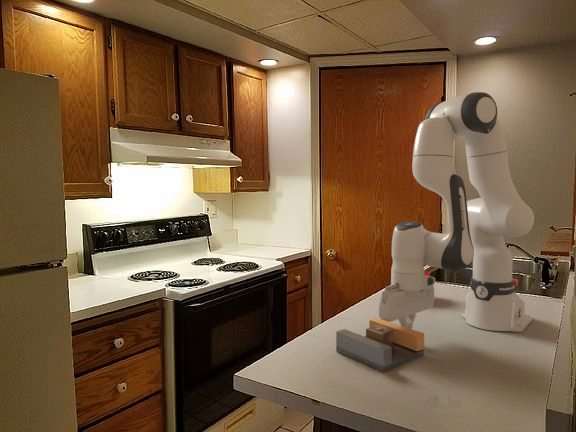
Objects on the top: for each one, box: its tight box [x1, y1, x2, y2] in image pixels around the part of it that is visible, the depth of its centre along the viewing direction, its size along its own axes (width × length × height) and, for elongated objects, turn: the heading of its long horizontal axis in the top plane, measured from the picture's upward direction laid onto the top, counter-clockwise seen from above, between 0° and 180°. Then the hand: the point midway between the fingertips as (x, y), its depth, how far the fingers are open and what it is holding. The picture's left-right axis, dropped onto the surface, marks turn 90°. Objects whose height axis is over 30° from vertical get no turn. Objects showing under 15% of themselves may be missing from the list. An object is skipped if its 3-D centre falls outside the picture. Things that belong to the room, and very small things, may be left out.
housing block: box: [365, 325, 394, 349], centre depth 113 cm, size 5×5×5 cm
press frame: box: [335, 328, 425, 374], centre depth 113 cm, size 16×16×6 cm
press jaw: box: [368, 317, 425, 351], centre depth 117 cm, size 3×16×4 cm, turn 38°
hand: (406, 329), depth 120 cm, fingers closed
